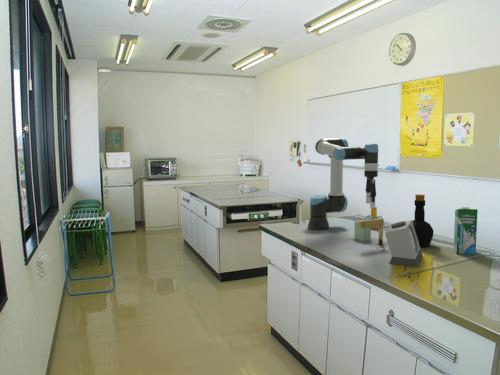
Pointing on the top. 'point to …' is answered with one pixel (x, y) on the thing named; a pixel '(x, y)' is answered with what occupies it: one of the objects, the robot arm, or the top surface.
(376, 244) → the plate
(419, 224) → the bottle
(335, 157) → the robot arm
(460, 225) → the milk carton
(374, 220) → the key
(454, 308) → the top surface
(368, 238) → the pale green block
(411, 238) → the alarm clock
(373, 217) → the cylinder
